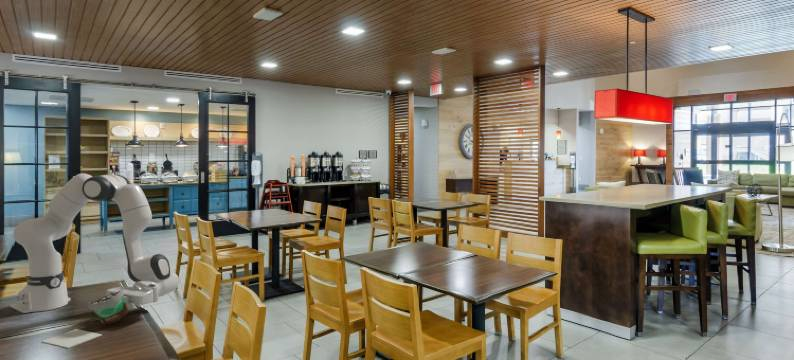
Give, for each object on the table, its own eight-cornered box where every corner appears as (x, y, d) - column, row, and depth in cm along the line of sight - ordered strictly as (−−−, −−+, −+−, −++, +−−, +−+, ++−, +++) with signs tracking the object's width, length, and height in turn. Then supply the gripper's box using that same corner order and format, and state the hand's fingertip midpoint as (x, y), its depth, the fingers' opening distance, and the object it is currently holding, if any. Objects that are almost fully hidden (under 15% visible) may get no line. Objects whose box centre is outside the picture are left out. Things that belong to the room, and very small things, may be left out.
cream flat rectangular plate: (41, 342, 161) (41, 341, 161) (76, 329, 172) (76, 329, 172) (68, 348, 156) (67, 347, 156) (102, 335, 167) (102, 334, 167)
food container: (98, 331, 172) (87, 309, 168) (97, 323, 177) (86, 302, 173) (134, 314, 178) (124, 293, 175) (131, 308, 183) (122, 287, 179)
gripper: (124, 280, 194) (92, 289, 181) (160, 286, 186) (129, 296, 173) (125, 295, 194) (93, 305, 181) (160, 301, 186) (129, 312, 174)
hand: (111, 301), depth 177 cm, fingers closed on food container
